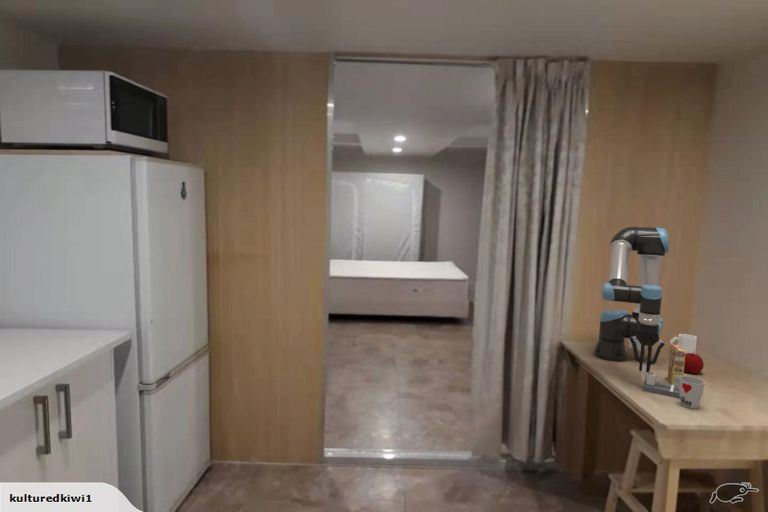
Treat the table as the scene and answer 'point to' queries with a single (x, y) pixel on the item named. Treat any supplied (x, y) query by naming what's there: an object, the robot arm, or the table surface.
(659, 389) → the console
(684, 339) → the mug
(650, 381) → the fader tab
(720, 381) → the table surface
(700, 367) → the apple
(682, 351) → the candy box
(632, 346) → the toilet paper
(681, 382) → the cup
